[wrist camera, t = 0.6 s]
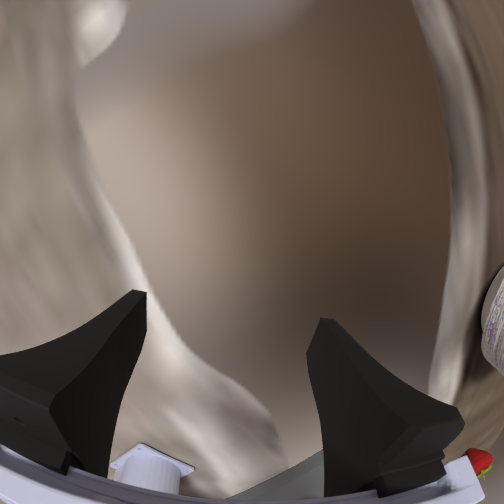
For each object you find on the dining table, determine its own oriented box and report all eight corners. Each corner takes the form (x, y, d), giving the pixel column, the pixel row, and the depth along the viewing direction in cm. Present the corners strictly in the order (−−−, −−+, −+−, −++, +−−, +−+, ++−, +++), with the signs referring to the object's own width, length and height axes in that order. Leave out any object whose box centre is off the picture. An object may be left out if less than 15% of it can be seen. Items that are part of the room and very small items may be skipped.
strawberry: (474, 450, 40) (492, 476, 31) (451, 463, 40) (469, 492, 30) (484, 435, 39) (505, 462, 29) (461, 449, 38) (481, 480, 29)
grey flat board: (267, 516, 37) (268, 524, 35) (214, 503, 34) (214, 513, 32) (392, 449, 33) (397, 458, 31) (351, 429, 29) (356, 441, 27)
